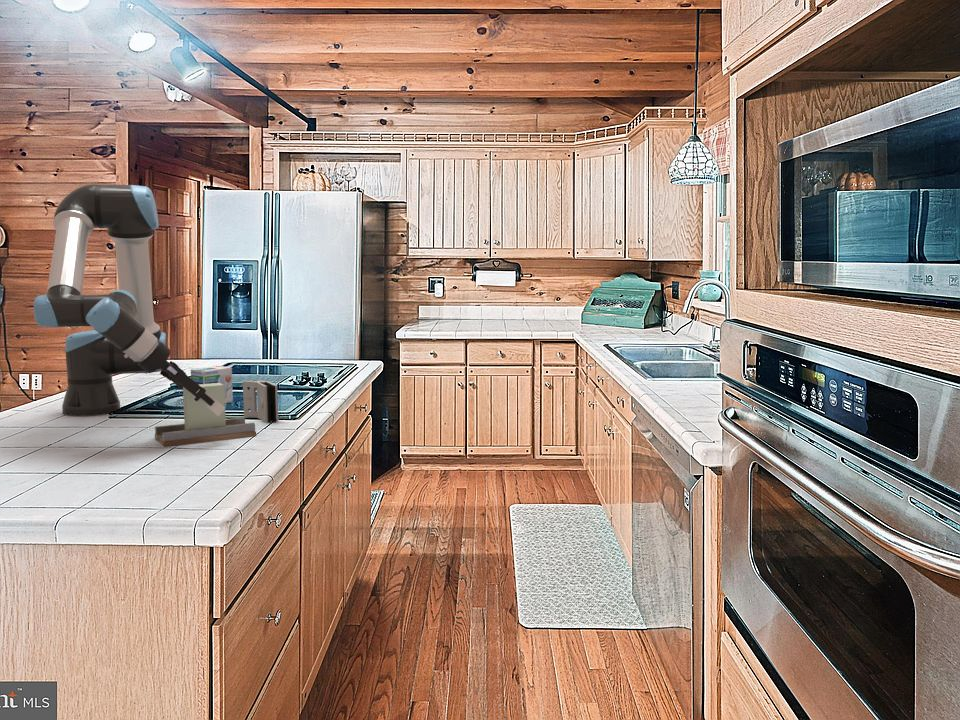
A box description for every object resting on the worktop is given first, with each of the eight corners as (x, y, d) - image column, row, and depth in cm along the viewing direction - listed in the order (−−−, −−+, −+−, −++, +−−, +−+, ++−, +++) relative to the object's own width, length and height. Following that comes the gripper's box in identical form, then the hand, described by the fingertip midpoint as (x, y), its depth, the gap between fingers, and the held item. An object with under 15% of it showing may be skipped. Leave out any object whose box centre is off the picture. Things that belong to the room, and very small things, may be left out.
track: (154, 437, 208) (154, 426, 207) (243, 427, 220) (242, 416, 219) (164, 446, 199) (164, 434, 198) (256, 435, 210) (255, 424, 210)
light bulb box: (205, 407, 249) (204, 371, 247) (190, 404, 252) (189, 369, 251) (234, 401, 258) (232, 366, 256) (219, 399, 261) (218, 365, 260)
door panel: (184, 433, 208) (182, 385, 207) (221, 429, 213) (219, 382, 212) (188, 436, 205) (186, 388, 203) (225, 432, 210) (224, 384, 208)
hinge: (243, 416, 235) (242, 380, 234) (260, 413, 239) (259, 378, 238) (268, 423, 225) (267, 386, 224) (285, 421, 229) (284, 384, 228)
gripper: (126, 357, 209) (191, 410, 219) (147, 369, 188) (217, 428, 198) (148, 335, 211) (210, 389, 221) (170, 344, 190) (239, 403, 200)
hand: (214, 407), depth 209 cm, fingers open, 13 cm apart
